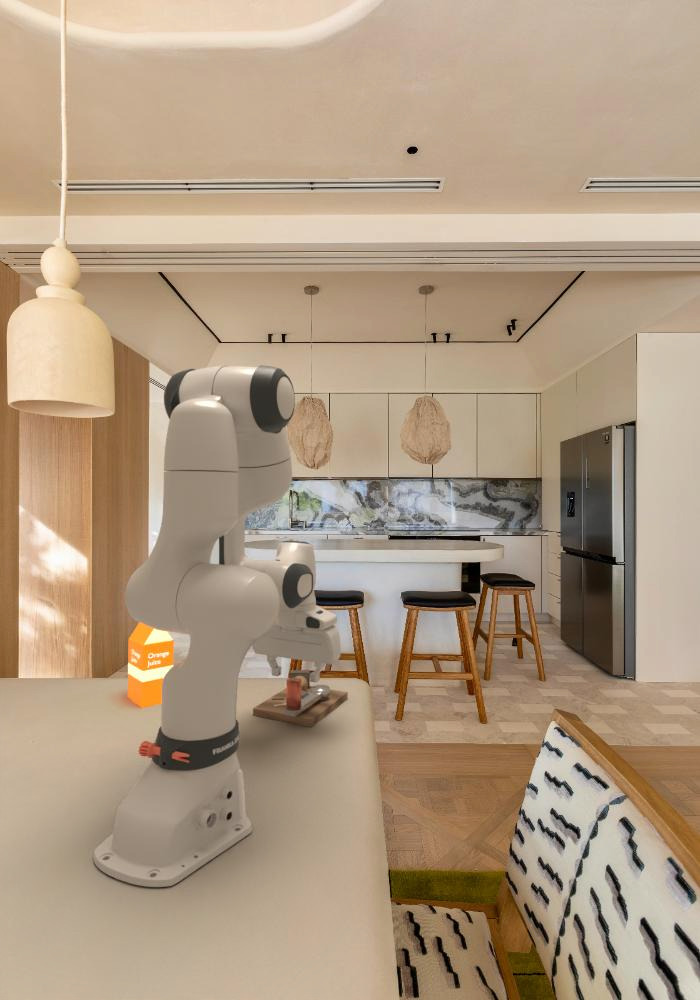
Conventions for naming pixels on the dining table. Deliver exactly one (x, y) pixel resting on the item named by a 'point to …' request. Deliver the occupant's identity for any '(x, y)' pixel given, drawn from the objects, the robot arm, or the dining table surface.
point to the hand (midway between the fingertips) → (295, 678)
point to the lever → (302, 696)
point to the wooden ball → (303, 682)
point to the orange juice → (148, 664)
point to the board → (309, 716)
